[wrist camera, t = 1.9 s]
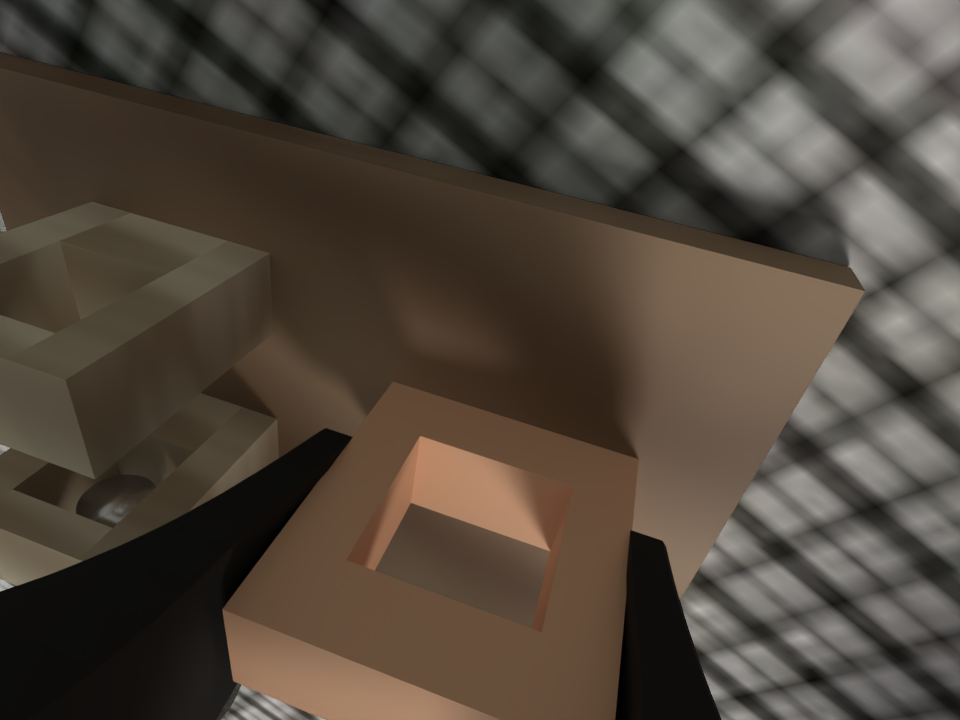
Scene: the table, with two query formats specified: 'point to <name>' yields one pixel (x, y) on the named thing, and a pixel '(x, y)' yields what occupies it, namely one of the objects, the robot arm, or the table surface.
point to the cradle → (359, 326)
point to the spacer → (427, 615)
